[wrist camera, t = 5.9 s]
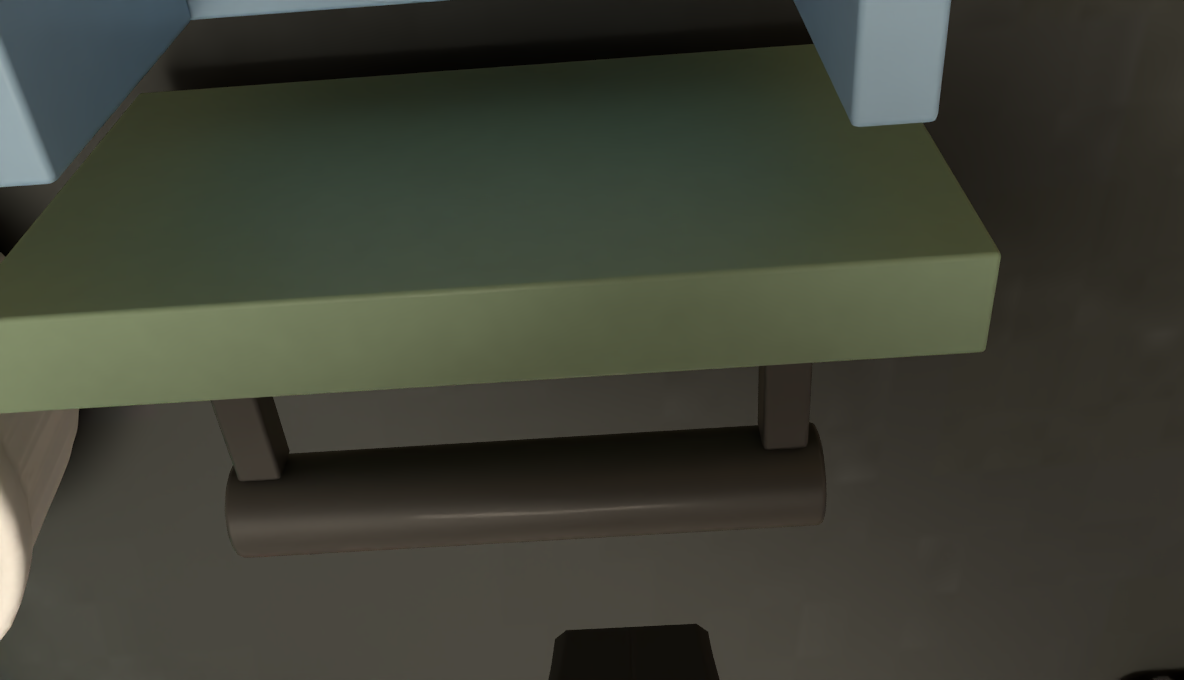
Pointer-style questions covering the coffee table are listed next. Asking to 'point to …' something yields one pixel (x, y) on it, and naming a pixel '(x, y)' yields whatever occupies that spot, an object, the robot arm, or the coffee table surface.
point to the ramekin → (28, 491)
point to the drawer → (484, 259)
